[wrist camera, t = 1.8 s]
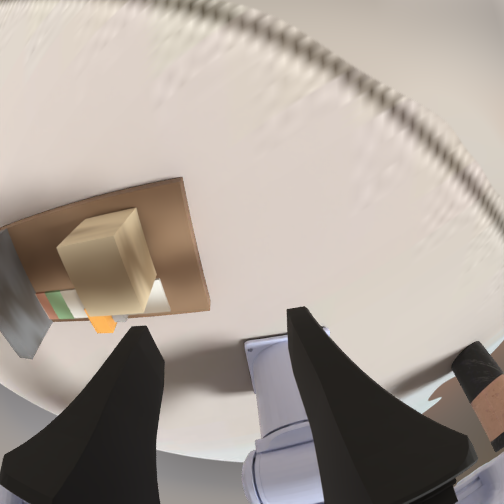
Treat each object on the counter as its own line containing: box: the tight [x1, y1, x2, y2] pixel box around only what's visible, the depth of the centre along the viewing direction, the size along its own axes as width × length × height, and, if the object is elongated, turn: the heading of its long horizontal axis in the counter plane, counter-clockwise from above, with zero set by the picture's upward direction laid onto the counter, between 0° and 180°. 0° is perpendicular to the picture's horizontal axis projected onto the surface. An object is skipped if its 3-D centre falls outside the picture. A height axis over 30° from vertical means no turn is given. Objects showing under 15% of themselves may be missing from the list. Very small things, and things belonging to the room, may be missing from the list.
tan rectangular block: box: [56, 208, 157, 322], centre depth 16 cm, size 8×4×4 cm, turn 6°
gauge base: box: [0, 177, 210, 359], centre depth 16 cm, size 10×18×6 cm, turn 96°
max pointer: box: [84, 308, 117, 333], centre depth 18 cm, size 2×2×2 cm, turn 6°
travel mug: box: [452, 341, 504, 452], centre depth 25 cm, size 8×8×20 cm
